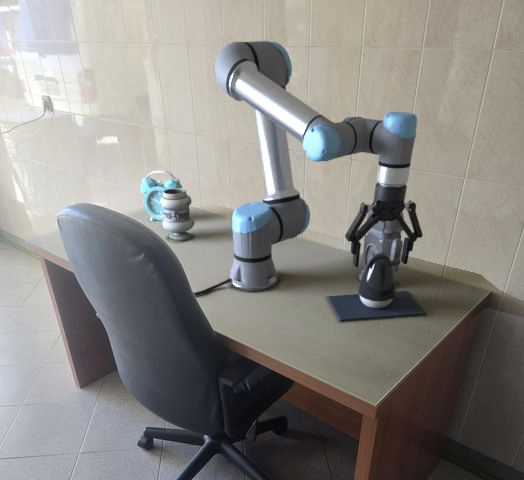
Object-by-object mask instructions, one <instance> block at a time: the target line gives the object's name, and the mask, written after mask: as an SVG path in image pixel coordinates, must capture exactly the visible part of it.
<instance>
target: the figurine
mask: <svg viewBox="0 0 524 480" xmlns="http://www.w3.org/2000/svg"><path fill="white" fill-rule="evenodd" d="M372 213H373V211H372V210H370V211H369V213H367V215H366V221H367V220H368V219H369V216H370V215H371V214H372ZM400 215H401V216H402V218H403V219H404V220H405V216H404V211H402V212H401V214H400ZM402 232H404V230H403V229H402V227H401V226H400V224H399V223H398V222H397V220H396V219H395V220H393V221H385V222H381V221H379V222H378V223H377V224H375V225H374V226H373V227H372V228H371V229H370V230H369V231H368V232H367V233H366V234H365V235H364V237H363V252H362V254H361V256H362V263H361V273H360V274H359V276H358V280H359V281H360V280H361V277H362V274H363V272H364V270H365V268H366V266H367V264H368V262H369V261H370V259H371V258H372V257H373V256H374V255H376V254H378V253H384V254H386V255H388V256H389V257H390V259H391V261H395V260H400V261H401V255H402V249H403V244H404V241H403V240H402ZM393 267H394V271H395V274H397V273H398V272H399V271H400V264H398V265H394V266H393ZM397 280H398V278H396V282H397Z"/></svg>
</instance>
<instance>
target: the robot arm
mask: <svg viewBox="0 0 524 480" xmlns="http://www.w3.org/2000/svg"><path fill="white" fill-rule="evenodd" d="M214 65H215V66H214V73H215V77H216V81H217V83H218V85H219V87H220V88H221V89H222V90H223V92H225V94H226V95H228V96H229V97H231V99H233V100H235V101H237V102H242V101H243V102H245V103H246V104H248V106H250V107H251V108H252V111H253V118H254V124H255V131H256V135H257V143H258V148H259V155H260V159H261V160H260V161H261V167H262V173H263V174H262V175H263V180H264V186H265V191H266V192H265V194H264V195H263V197H262V202H261V201H255V202H248V203H244V204H242V205H240V206H237V208H236V209H234V210H233V212H232V221H231V222H232V223H231V229H232V243H233V261H232V264H231V268H230V272H229V276H228V279H225V280H223V281H221V282H218V283H217V284H214V285H212V286H209V287H207V288H205V289H203V290H200V291H196V292H193V293H194V294H195V296H200V295H203V294H205V293H208V292H210V291H212V290H215V289H217V288H220V287H222V286H224V285H226V284H228V283H229V284H230V286H231V287H233V288H234V289H236V290H240V291H243V292H244V291H245V292H260V291H265V290H268V289H271V288H273V287H274V286H275V285H277V283H278V272H277V269H276V266H275V263H274V260H273V258H272V257H273V256H272V252H273V251H272V248H273V247H272V246H273V245H276V244H279V243H281V242H284V241H287V240H290V239H294V238H297V236H299V235H301V234H302V235H303V233H304V232H306V230H307V229H308V227H309V224H310V221H311V210H310V207H309V205H308V203H306V200H304V199H303V198H301V193H300V191H299V190H297V189H296V188H295V187H294V180H293V171H292V165H291V157H290V149H289V142H288V134H289V135H291V136H292V137H293V138H295V139H296V140H297V141H299V142H300V143H301V144H302V147H303V151H304V153H305V155H306V157H307V158H308V159H309V160H311V161H312V162H315V163H316V162H317V163H319V162H320V163H321V162H329V161H332V160H335V159H339V158H343V157H348V156H352V155H356V154H360V153H365V154H371V155H376V156H377V155H378V163H377V164H378V165H377V172H376V180H375V181H377V182H376V183H375V188H374V195H373V202H372V203H371V204H369V203H366V202H361V203H360V205H359V211H358V212H357V214H356V216H355V217H354V219H353V221H352V223H351V224H350V226H349V228H348V230H347V231H346V233H345V234H344V238H345V239H346V241H347V242H350V253H351V255H352V256H353V257H352V265H353V266H354V267H355V268H359V265H360V264H359V263H360V255H361V247H362V245H361V244H362V243H361V242H360V241H361V240H362V239H364V237H365V234H366V233H367V232H368V231H369V230H370V229H371V228H372V227H373V226H374V225H375V224H377V223H378V222H379V221H381V222H385V221H393V220H395V219H396V220H397V222H398V223H399V224H400V226H401V227H402V229H403V232H404V234H405V235H406V236H407V237H404V239H403V246H402V251H401V257H400V261H401V263H402V264H403V265H408V260H409V255H410V252H413V250H414V245H415V244H414V243H415V242H417V239H418V238H419V239H421V238H423V231H422V228H421V225H420V221H419V219H418V215H417V203H415V202H414V201H413V200H408V201H407V202H405V199H406V194H407V188H408V186H407V183H408V182H409V176H410V171H411V162H412V156H413V152H414V151H413V150H414V146H415V141H416V140H415V139H416V137H417V127H418V125H417V124H418V117H417V115H416V114H415V113H412V112H407V111H390V112H387V113H385V115H384V118H383V119H382V120H379V119H373V118H366V117H362V116H347V117H345V118H344V119H343V120H342V121H339V122H334V121H332V120H331V119H329V118H328V117H326V116H324V115H323V114H321V113H320V112H318V111H317V110H315V109H314V108H312V107H311V106H310V105H308V104H306V103H305V102H303V101H302V100H301V99H299V98H298V97H297V96H295V95H293V94H292V93H291V92H289V91H288V90H287V87H286V86H288V84H289V83H290V81H291V77H292V74H293V73H292V72H293V66H292V60H291V56H290V55H289V53H288V51H287V50H286V48H285V47H283V45H281V43H278V42H276V41H269V40H258V41H233V42H230V43H228V44H227V45H225V46H224V47H223V48H221V50H220V52H218V54H217V57H216V59H215V64H214ZM370 210H372V211H373V213H372V214H371V215H370V216H369V219H368V220H367V219H366V218H367V216H368V214H369V212H370ZM404 210H406V211H407V214H408V217H409V220H410V223H411V226H412V230H413V231H412V230H411V228H410V226H409V225H408V223H407V222H406V221H405V218H404V219H403V218H402V216H401V215H400V214H401V212H404ZM365 219H366V221H365V222H364V220H365ZM363 222H364V223H363ZM195 296H194V297H195Z"/></svg>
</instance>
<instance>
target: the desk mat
mask: <svg viewBox="0 0 524 480" xmlns="http://www.w3.org/2000/svg"><path fill="white" fill-rule="evenodd" d="M327 300H329V303H330V304H331V306H332V308H333V311H334V313H335V314H336V316H337V318H338V320H339V322H351V321H363V320H377V319H391V318H404V317H415V316H416V317H417V316H425V315H426V312H425V311H424V310H423V308H422V307H421V306H420V305H419V304H418V302H416V300H415V299H414V298H413V297H412V296H411V295H410V294H409V293H408V291H407V290H399V291H398V290H396V293H395V296H394V298H393V299H392V301H391V303H390V304H389V305H387V306H386V307H383V308H371V307H368V306H366V305H365V304H364V303H363V302H362V301H361V299H360V295H359V293H356V294H341V295H328V296H327Z"/></svg>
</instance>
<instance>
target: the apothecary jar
mask: <svg viewBox="0 0 524 480" xmlns="http://www.w3.org/2000/svg"><path fill="white" fill-rule="evenodd" d="M192 202H193V201H192V198H191V196H190V195H188V194H187V190H186V189H185V188H183V187H182V188H172V189H167V190H165V191H163V197H162V198H161V199H160V205H161V206H162V207H163V208H164V213H165V219H164V220H162V227H163V229H164V230H165V231H166V232H168V233H169V232H170V234H168V236H167V238H166V239H167V240H169V241H170V242H173V243H184V242H188V241H191V240H192V239H193V238H194V237H193V234H192V233H191V232H188V231H190V230H191V229H192V228H193V227H194V226H195V219H194V218H193V217H192V216H191V211H190V206H191V204H192Z"/></svg>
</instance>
